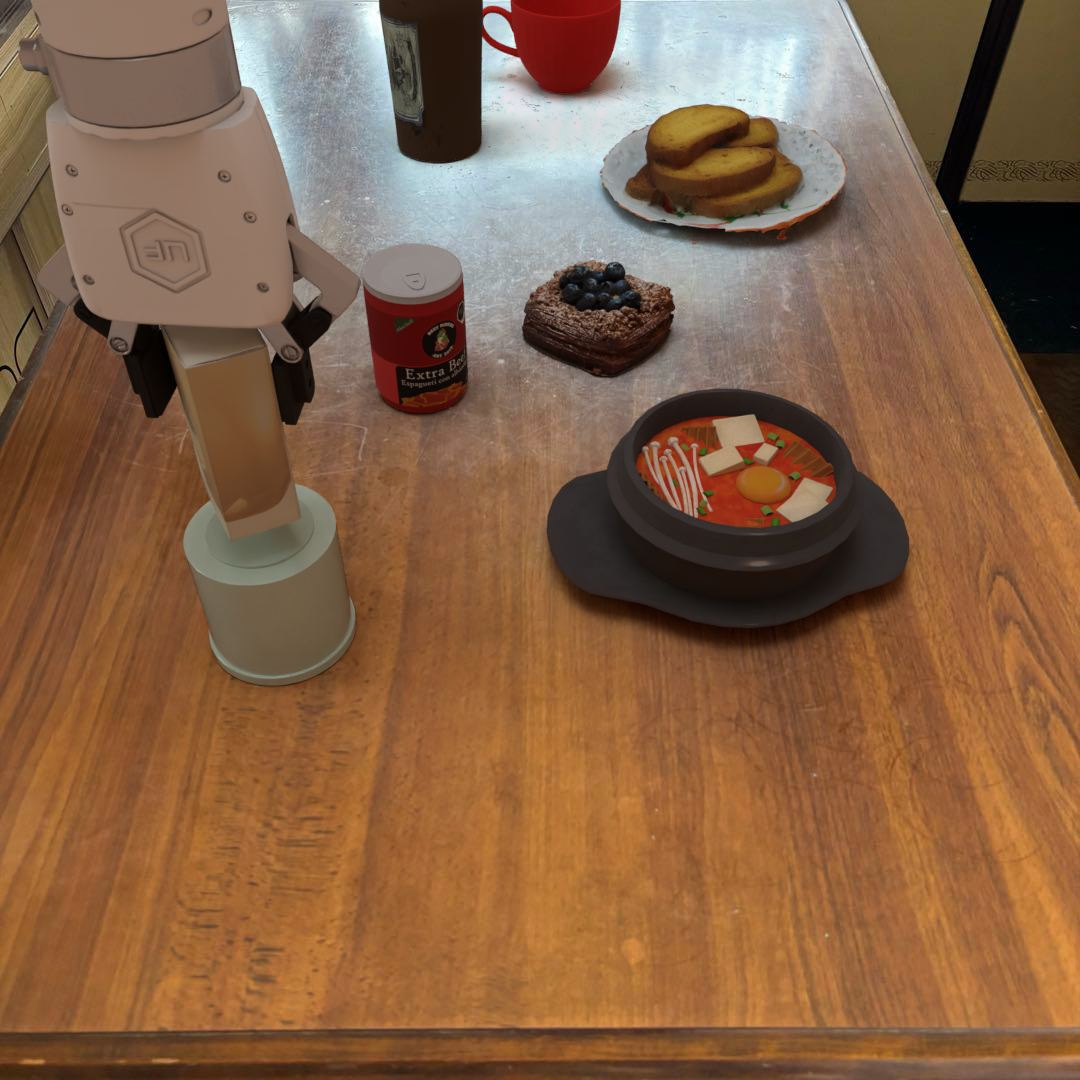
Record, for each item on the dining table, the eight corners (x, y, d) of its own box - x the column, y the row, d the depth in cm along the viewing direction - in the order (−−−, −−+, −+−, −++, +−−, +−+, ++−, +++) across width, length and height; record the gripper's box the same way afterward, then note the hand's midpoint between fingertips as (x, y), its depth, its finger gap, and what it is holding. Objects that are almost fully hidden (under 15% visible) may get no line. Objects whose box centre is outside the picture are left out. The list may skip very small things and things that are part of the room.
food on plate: (840, 260, 106) (854, 196, 101) (584, 237, 109) (585, 174, 104) (839, 144, 123) (850, 85, 119) (618, 127, 127) (621, 69, 122)
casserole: (555, 655, 71) (556, 563, 65) (538, 467, 84) (539, 376, 78) (938, 639, 72) (974, 547, 66) (862, 455, 85) (886, 365, 79)
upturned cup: (192, 681, 69) (157, 580, 63) (233, 573, 76) (205, 472, 69) (340, 690, 69) (320, 589, 62) (368, 581, 75) (352, 480, 69)
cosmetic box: (201, 480, 66) (149, 302, 57) (271, 458, 67) (231, 281, 58) (231, 547, 62) (181, 367, 53) (306, 523, 63) (268, 343, 54)
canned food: (404, 427, 87) (391, 307, 80) (359, 377, 92) (342, 260, 84) (487, 395, 90) (482, 277, 83) (438, 348, 95) (430, 232, 87)
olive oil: (455, 116, 129) (442, -127, 111) (505, 150, 123) (500, -103, 105) (375, 139, 124) (349, -111, 107) (423, 175, 118) (403, -84, 101)
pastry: (617, 387, 91) (620, 327, 87) (503, 337, 96) (501, 278, 92) (687, 328, 97) (693, 269, 93) (577, 284, 103) (578, 226, 98)
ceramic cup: (483, 61, 141) (480, -23, 134) (616, 63, 140) (620, -21, 133) (475, 103, 131) (471, 16, 124) (617, 106, 131) (622, 18, 124)
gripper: (-92, 99, 45) (45, 442, 57) (330, 114, 44) (376, 459, 56) (-12, 31, 50) (97, 358, 63) (365, 43, 49) (400, 372, 62)
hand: (228, 403), depth 59 cm, fingers closed on cosmetic box, 6 cm apart
